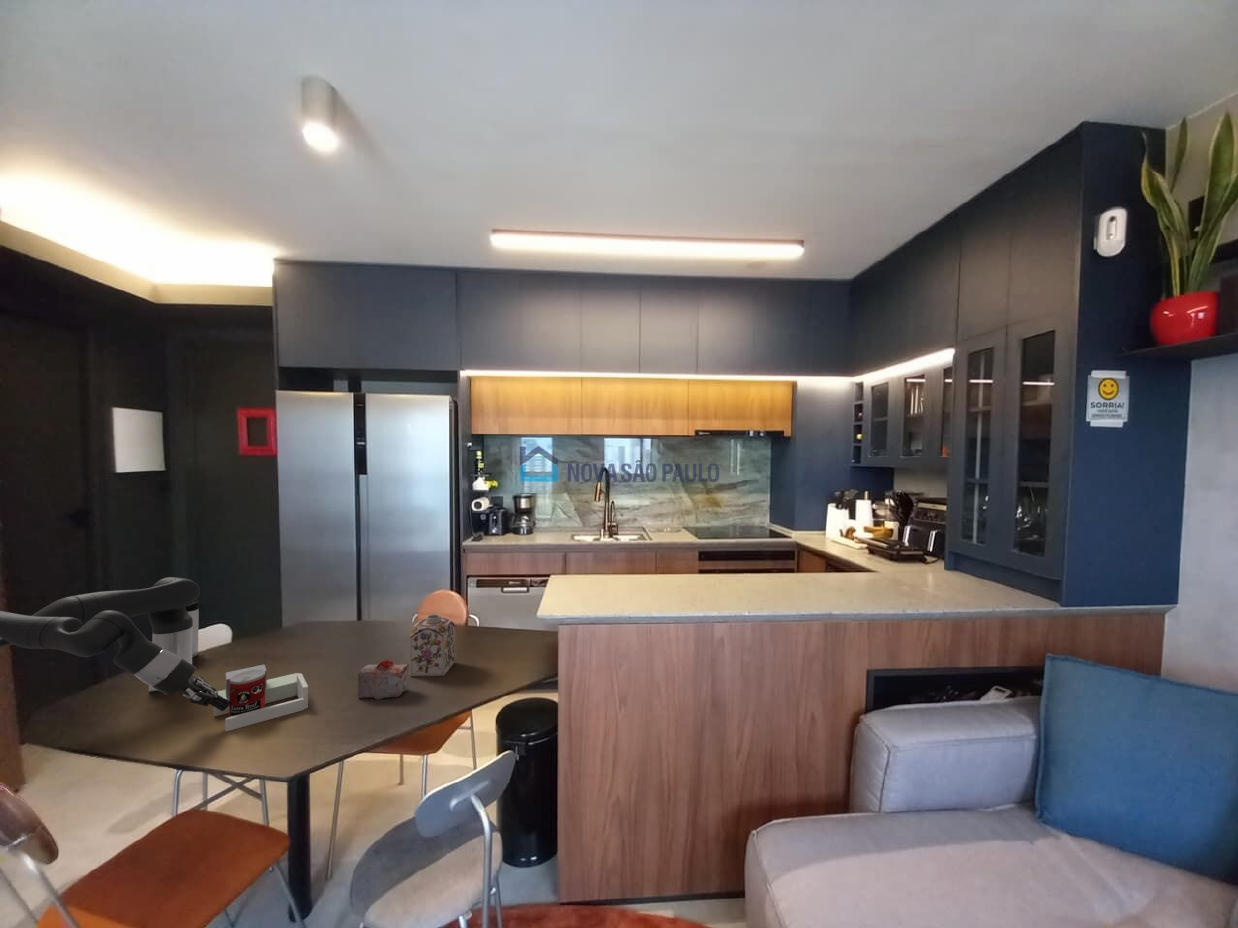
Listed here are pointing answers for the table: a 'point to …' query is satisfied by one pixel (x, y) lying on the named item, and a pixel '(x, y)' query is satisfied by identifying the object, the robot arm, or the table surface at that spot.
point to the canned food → (247, 692)
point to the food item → (382, 680)
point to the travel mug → (194, 625)
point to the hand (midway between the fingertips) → (226, 706)
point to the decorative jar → (432, 646)
